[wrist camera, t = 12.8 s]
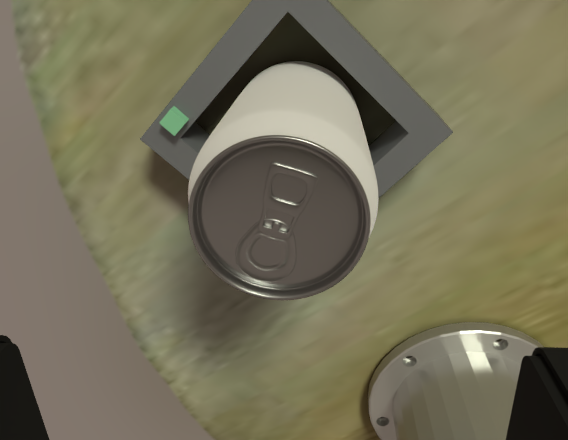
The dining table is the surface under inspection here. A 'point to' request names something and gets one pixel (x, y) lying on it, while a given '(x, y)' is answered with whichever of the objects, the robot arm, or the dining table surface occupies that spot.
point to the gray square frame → (343, 47)
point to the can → (285, 186)
